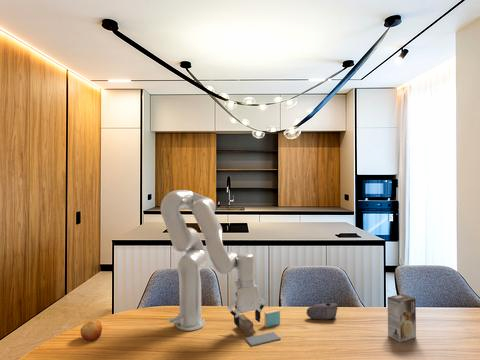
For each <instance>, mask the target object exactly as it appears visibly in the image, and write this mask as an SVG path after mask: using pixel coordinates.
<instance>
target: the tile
mask: <svg viewBox="0 0 480 360" xmlns="http://www.w3.org/2000/svg"><path fill="white" fill-rule="evenodd" d="M263 315H264V318H263V319H264V324H263V325H264V327H265V328H269V327H273V326H279V325H281V310H279V309H275V310H274V309H273V310H270V311H265V312H264V314H263Z"/></svg>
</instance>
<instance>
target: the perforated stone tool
mask: <svg viewBox="0 0 480 360" xmlns="http://www.w3.org/2000/svg"><path fill="white" fill-rule="evenodd" d="M337 312H338V304H337V303H335V302H334V303H333V302H328V303H327V302H326V303H325V302H324V303H318V304H315V305H312V306H309V307H308V308H307V309H306V315H307V317H308V318H310V319H313V320H330V319H336V317H337Z"/></svg>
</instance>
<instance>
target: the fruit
mask: <svg viewBox="0 0 480 360" xmlns="http://www.w3.org/2000/svg"><path fill="white" fill-rule="evenodd" d="M102 330H103V325H102V323H101V321H100V320H97V319H91V320H88V321H86V322H85V323H84V324H83V325H82V326H81V328H80V336H81V337H82V339H83V340H84V341H93V342H94V341H96V340H98V339H99V338H101V335H102Z"/></svg>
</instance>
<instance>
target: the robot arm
mask: <svg viewBox="0 0 480 360" xmlns="http://www.w3.org/2000/svg"><path fill="white" fill-rule="evenodd" d="M162 198H163V199H162V200H161V203H160V213H161V217H162V220H163V222H164V225H165V227H166V231H167V233H168V236H169V239H170V241H171V243H172V244H171V245H172V247H173V248H174V250H175V251H176V252H178V253H182V252H183V253H184V252H185V254H183V255H182V256H181V257H180V258H179V260H178V263H177V274H178V282H179V283H178V284H179V313H177V315H176V316H175V317H169V318H168V323H169V324H171V323H172V324H173V325H175V327H176V328H177V329H178V330H180V331H186V332H187V331H196V330H200V329H201V328H203V327H204V326H205V324H206V322H205V319H204V318H203V317H202V279H201V273H200V272H201V270H202V269H203V268H205V267H206V265H207V262H208V257H209V259H210V261H211V263H212V265H213V267H214V268H215V270H216V271H217V272H218V273H219V274H220V275H228V274H231V272H232V271H234V270H235V269H236V281H234V286H236V287H235V292H234V301H233V302H232V303H230V304H229V305H228V306H227V309H228V311H229V313H230V314H231V315H232V316H233V323H234V325H235V326H236V327H238V328H239V317H238V315H241V314H243V313H249V312H253V311H254V314H255V315H254V318H255V319H254V320H255V321H257V322H258V323H260V322H261V313H262V311H263V309H264V306H265V303H266V300H265V299H264V298H261V297H260V293H259V289H258V285H257V284H256V277H255V276H256V273H255V272H256V271H255V256H254V254H252V253H249V252H242V253H239V252H234V251H226V249H225V246H224V244H223V243H224V242H223V227H222V225H221V223H220V221H219V219H218V218H217V215H216V214H215V212H216V209H217V208H216V207H217V206H216V203H215V201H214V200H213V199H211V198H210V197H207V196H204V195H203V194H199V193H197V192H194V191H191V190H188V189H179V190H178V189H177V190H173V191H170V192H168V193H167V194H166V195H165V196H164V197H162ZM184 209H188V210H190V211H191V212H192V215H193V217H194V219H195V221H196V223H197V225H198V227H199V228H200V231H201V233H202V234H203V235H202V236H204V240H205V247H206V249H205V247H204V244H203V242H202V239H201V236H200V234H199V233H198V231H197V230H196V229H195V228H193V227H188V226H187V224H186V221H185V218H184V217H183V214H181V212H180V211H181V210H184ZM206 251H207V252H206ZM207 254H208V255H207ZM233 309H234V310H233Z"/></svg>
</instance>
